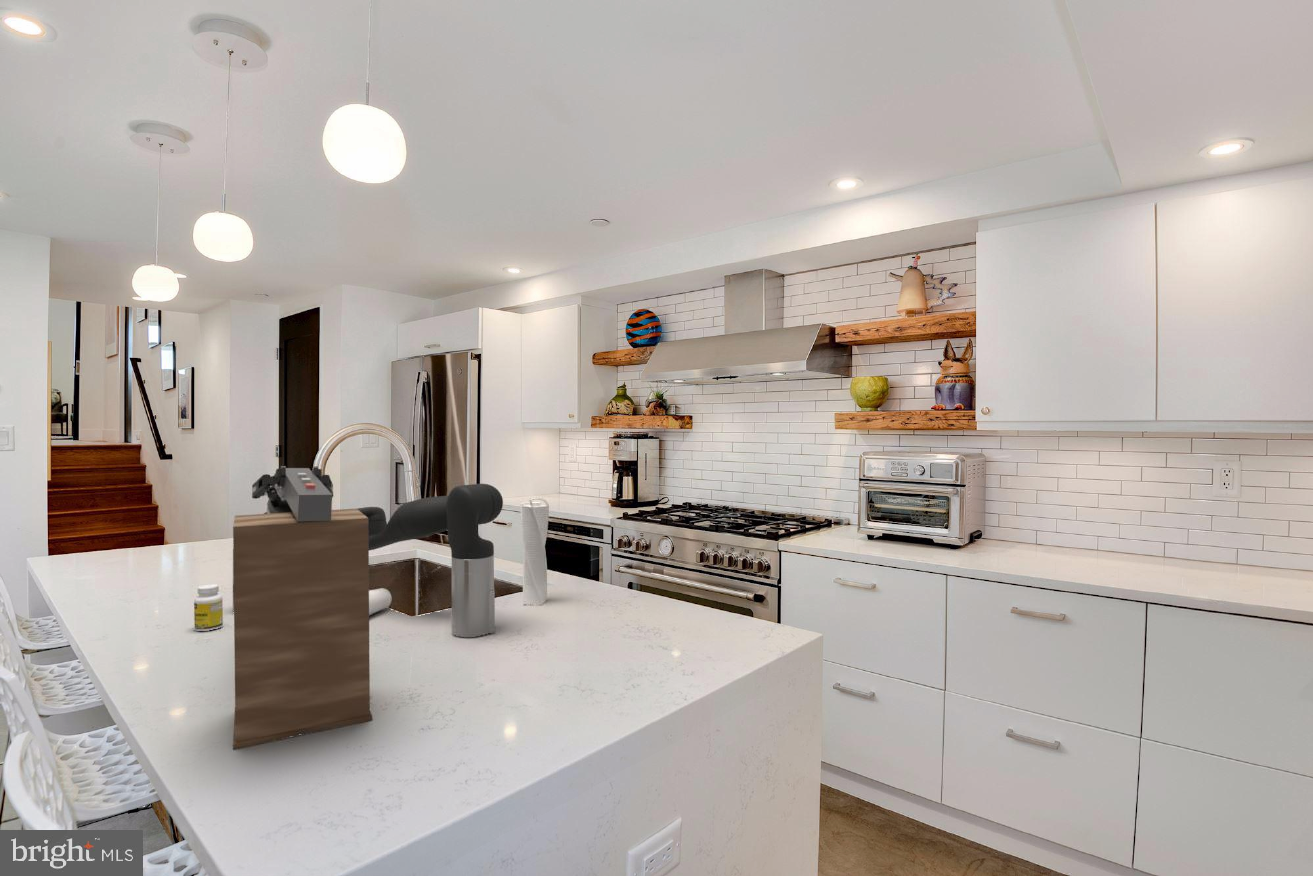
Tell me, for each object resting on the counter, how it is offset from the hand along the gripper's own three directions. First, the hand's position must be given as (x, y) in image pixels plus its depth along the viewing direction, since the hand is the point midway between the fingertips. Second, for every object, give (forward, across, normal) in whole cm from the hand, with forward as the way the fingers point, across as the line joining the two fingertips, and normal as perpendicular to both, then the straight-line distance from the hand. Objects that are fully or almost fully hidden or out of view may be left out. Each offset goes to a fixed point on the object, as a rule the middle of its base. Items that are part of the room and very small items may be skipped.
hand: (299, 471), depth 119 cm
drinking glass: (-56, -25, -11) cm, 62 cm away
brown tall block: (-4, 0, -41) cm, 41 cm away
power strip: (+4, 0, -7) cm, 8 cm away
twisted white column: (-42, -59, -19) cm, 75 cm away
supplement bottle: (-62, +12, -13) cm, 65 cm away
